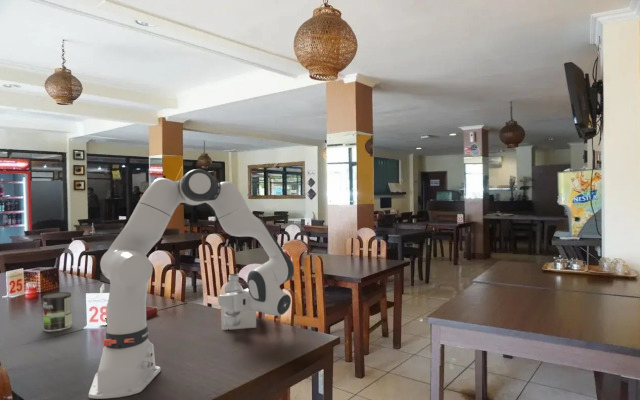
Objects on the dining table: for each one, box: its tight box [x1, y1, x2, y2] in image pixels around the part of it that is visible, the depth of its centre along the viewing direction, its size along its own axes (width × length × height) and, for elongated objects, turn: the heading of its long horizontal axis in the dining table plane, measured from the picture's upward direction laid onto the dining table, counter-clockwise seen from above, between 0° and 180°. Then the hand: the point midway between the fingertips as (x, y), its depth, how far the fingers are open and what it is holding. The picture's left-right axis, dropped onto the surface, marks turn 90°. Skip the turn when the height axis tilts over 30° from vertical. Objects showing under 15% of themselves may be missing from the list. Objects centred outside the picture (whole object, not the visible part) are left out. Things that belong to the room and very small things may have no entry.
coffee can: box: [42, 291, 73, 333], centre depth 175 cm, size 10×10×14 cm
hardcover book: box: [105, 305, 159, 323], centre depth 184 cm, size 12×21×4 cm, turn 154°
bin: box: [220, 306, 257, 331], centre depth 175 cm, size 14×14×10 cm
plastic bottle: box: [224, 273, 243, 326], centre depth 160 cm, size 6×7×20 cm
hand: (231, 293), depth 161 cm, fingers closed on plastic bottle, 6 cm apart
